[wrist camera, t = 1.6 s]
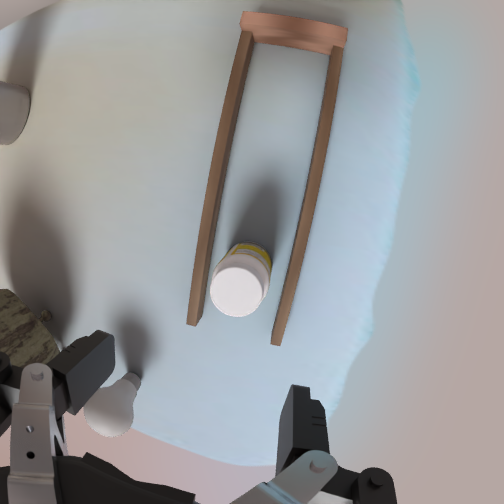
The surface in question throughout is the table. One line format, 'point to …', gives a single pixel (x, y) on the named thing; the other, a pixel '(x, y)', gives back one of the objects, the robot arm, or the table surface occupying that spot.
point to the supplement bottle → (241, 279)
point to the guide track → (253, 30)
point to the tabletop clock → (24, 332)
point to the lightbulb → (113, 406)
